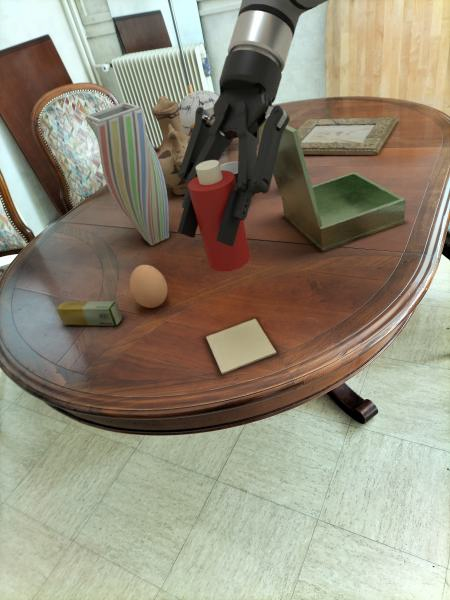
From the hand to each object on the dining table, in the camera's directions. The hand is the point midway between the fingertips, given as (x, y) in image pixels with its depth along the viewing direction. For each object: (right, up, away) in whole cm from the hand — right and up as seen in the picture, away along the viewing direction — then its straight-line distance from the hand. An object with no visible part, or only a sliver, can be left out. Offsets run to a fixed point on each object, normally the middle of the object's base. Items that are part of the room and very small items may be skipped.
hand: (204, 238), depth 54 cm
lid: (+15, +18, +27) cm, 36 cm away
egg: (-11, -9, +27) cm, 30 cm away
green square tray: (+28, +10, +38) cm, 48 cm away
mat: (+5, -15, +13) cm, 21 cm away
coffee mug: (+5, +15, +53) cm, 55 cm away
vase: (-14, +7, +49) cm, 51 cm away
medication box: (-23, -12, +27) cm, 37 cm away
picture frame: (+38, +42, +77) cm, 95 cm away
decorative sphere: (-2, +43, +90) cm, 100 cm away
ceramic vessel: (-9, +24, +69) cm, 73 cm away
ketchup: (+3, -2, +5) cm, 7 cm away
